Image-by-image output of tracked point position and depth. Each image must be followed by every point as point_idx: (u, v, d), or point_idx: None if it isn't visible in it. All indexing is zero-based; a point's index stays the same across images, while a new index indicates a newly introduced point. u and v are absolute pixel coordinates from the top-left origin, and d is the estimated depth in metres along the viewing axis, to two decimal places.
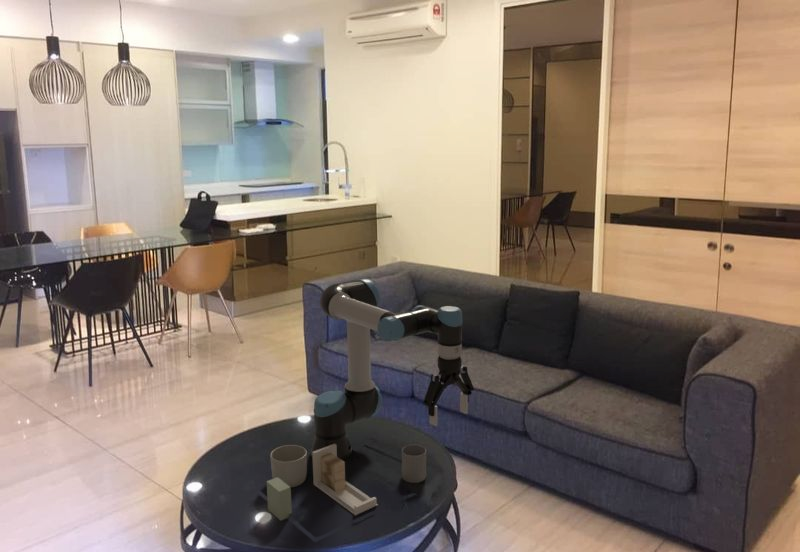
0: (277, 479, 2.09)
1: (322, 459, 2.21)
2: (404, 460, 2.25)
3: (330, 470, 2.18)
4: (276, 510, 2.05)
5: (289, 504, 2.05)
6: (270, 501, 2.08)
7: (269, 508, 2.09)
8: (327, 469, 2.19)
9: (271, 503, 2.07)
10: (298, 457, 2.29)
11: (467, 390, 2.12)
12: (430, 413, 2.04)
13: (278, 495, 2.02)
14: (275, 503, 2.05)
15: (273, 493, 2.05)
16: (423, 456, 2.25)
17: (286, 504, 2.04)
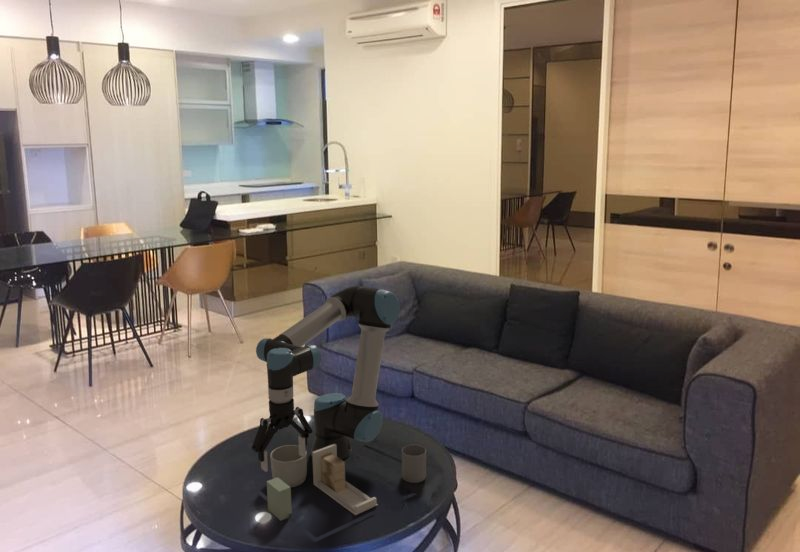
0: (277, 479, 2.09)
1: (322, 459, 2.21)
2: (404, 460, 2.25)
3: (330, 470, 2.18)
4: (276, 510, 2.05)
5: (289, 504, 2.05)
6: (270, 501, 2.08)
7: (269, 508, 2.09)
8: (327, 469, 2.19)
9: (271, 503, 2.07)
10: (298, 457, 2.29)
11: (304, 433, 2.06)
12: (259, 458, 1.98)
13: (278, 495, 2.02)
14: (275, 503, 2.05)
15: (273, 493, 2.05)
16: (423, 456, 2.25)
17: (286, 504, 2.04)
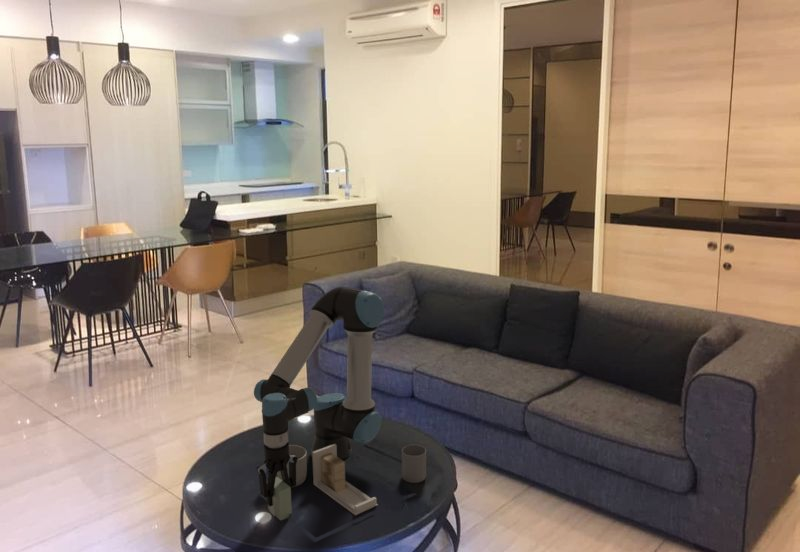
0: (277, 479, 2.09)
1: (322, 459, 2.21)
2: (404, 460, 2.25)
3: (330, 470, 2.18)
4: (276, 510, 2.05)
5: (289, 504, 2.05)
6: None
7: (269, 508, 2.09)
8: (327, 469, 2.19)
9: None
10: (298, 457, 2.29)
11: (289, 485, 2.07)
12: (268, 503, 2.04)
13: (278, 495, 2.02)
14: None
15: (273, 493, 2.05)
16: (423, 456, 2.25)
17: (286, 504, 2.04)
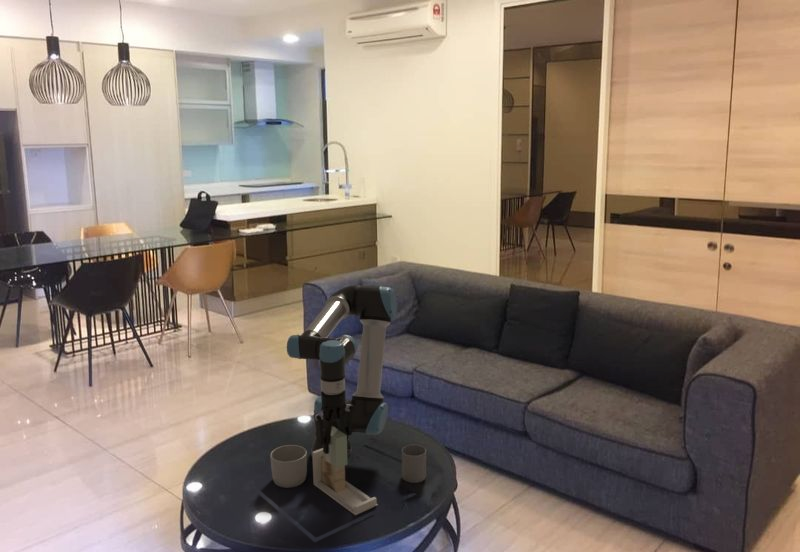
0: (333, 428, 2.09)
1: (322, 459, 2.21)
2: (404, 460, 2.25)
3: (330, 470, 2.18)
4: (332, 458, 2.05)
5: (345, 452, 2.05)
6: None
7: (324, 456, 2.09)
8: (327, 469, 2.19)
9: None
10: (298, 457, 2.29)
11: None
12: (324, 451, 2.04)
13: (334, 442, 2.02)
14: None
15: None
16: (423, 456, 2.25)
17: (342, 452, 2.04)
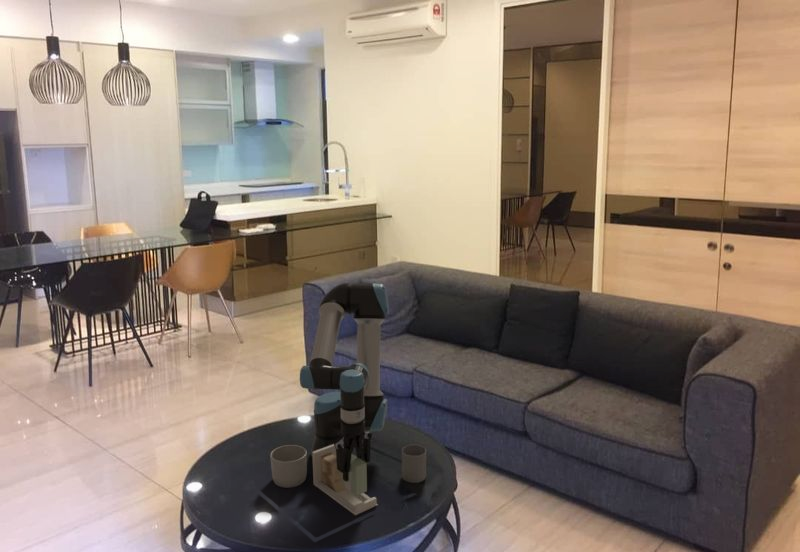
0: (351, 455, 2.12)
1: (322, 459, 2.21)
2: (404, 460, 2.25)
3: (330, 470, 2.18)
4: (352, 485, 2.08)
5: (365, 479, 2.08)
6: None
7: (343, 483, 2.12)
8: (327, 469, 2.19)
9: None
10: (298, 457, 2.29)
11: None
12: (344, 478, 2.08)
13: (355, 470, 2.06)
14: None
15: None
16: (423, 456, 2.25)
17: (362, 479, 2.07)
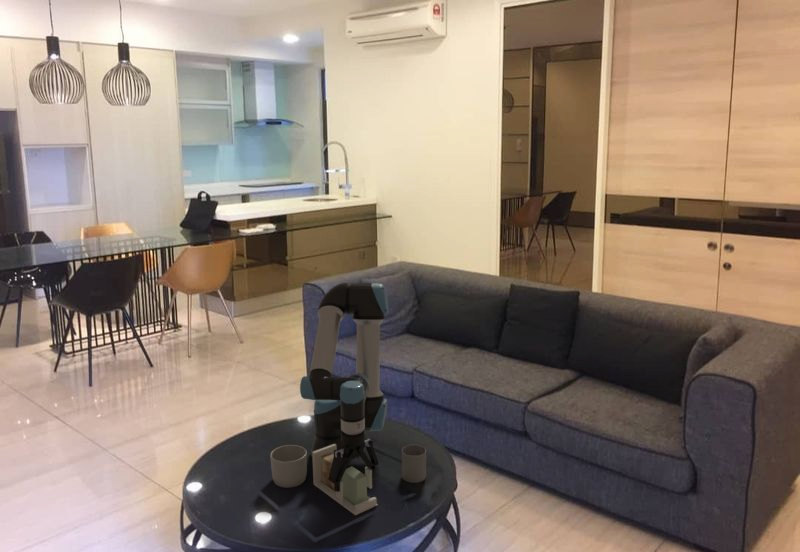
0: (352, 468, 2.13)
1: (322, 459, 2.21)
2: (404, 460, 2.25)
3: None
4: (352, 498, 2.09)
5: (365, 492, 2.09)
6: (345, 490, 2.12)
7: (344, 496, 2.13)
8: (327, 469, 2.19)
9: (346, 491, 2.11)
10: (298, 457, 2.29)
11: (371, 465, 2.13)
12: (335, 489, 2.06)
13: (355, 484, 2.07)
14: (352, 492, 2.09)
15: (349, 481, 2.10)
16: (423, 456, 2.25)
17: (362, 492, 2.09)
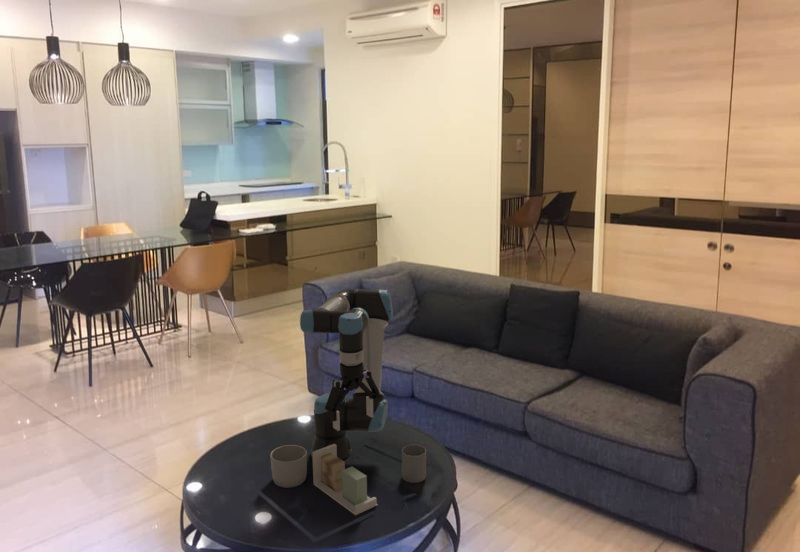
0: (352, 468, 2.13)
1: (322, 459, 2.21)
2: (404, 460, 2.25)
3: (330, 470, 2.18)
4: (352, 498, 2.09)
5: (365, 492, 2.09)
6: (345, 490, 2.12)
7: (344, 496, 2.13)
8: (327, 469, 2.19)
9: (346, 491, 2.11)
10: (298, 457, 2.29)
11: (372, 394, 2.15)
12: (332, 418, 2.07)
13: (355, 484, 2.07)
14: (352, 492, 2.09)
15: (349, 481, 2.10)
16: (423, 456, 2.25)
17: (362, 492, 2.09)
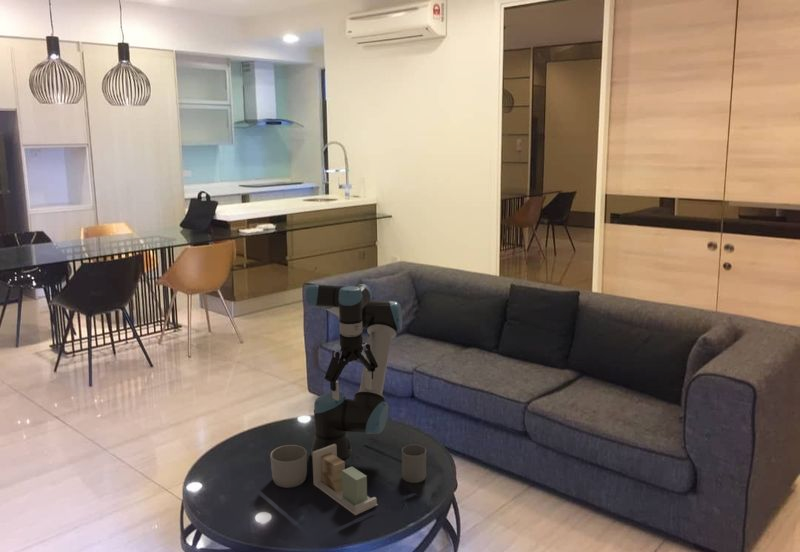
0: (352, 468, 2.13)
1: (322, 459, 2.21)
2: (404, 460, 2.25)
3: (330, 470, 2.18)
4: (352, 498, 2.09)
5: (365, 492, 2.09)
6: (345, 490, 2.12)
7: (344, 496, 2.13)
8: (327, 469, 2.19)
9: (346, 491, 2.11)
10: (298, 457, 2.29)
11: (371, 367, 2.22)
12: (332, 388, 2.14)
13: (355, 484, 2.07)
14: (352, 492, 2.09)
15: (349, 481, 2.10)
16: (423, 456, 2.25)
17: (362, 492, 2.09)
